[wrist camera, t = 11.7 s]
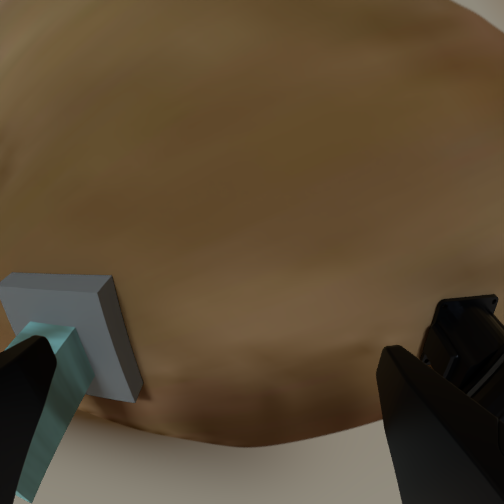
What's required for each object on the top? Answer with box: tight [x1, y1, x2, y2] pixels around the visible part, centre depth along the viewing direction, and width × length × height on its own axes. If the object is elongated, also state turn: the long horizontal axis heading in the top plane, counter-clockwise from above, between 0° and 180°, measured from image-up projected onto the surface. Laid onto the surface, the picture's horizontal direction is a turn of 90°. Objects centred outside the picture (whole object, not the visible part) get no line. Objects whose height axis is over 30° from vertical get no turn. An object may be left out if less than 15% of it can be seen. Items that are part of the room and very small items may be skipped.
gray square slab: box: [0, 273, 143, 403], centre depth 23 cm, size 11×11×2 cm
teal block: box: [4, 322, 95, 503], centre depth 16 cm, size 5×5×13 cm
